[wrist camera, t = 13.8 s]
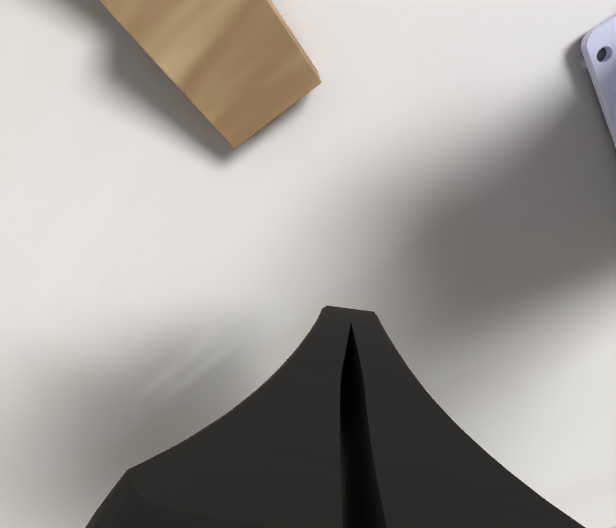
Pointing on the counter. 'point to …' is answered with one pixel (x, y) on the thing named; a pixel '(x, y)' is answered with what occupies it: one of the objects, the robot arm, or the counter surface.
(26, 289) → the counter surface
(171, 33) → the tile
